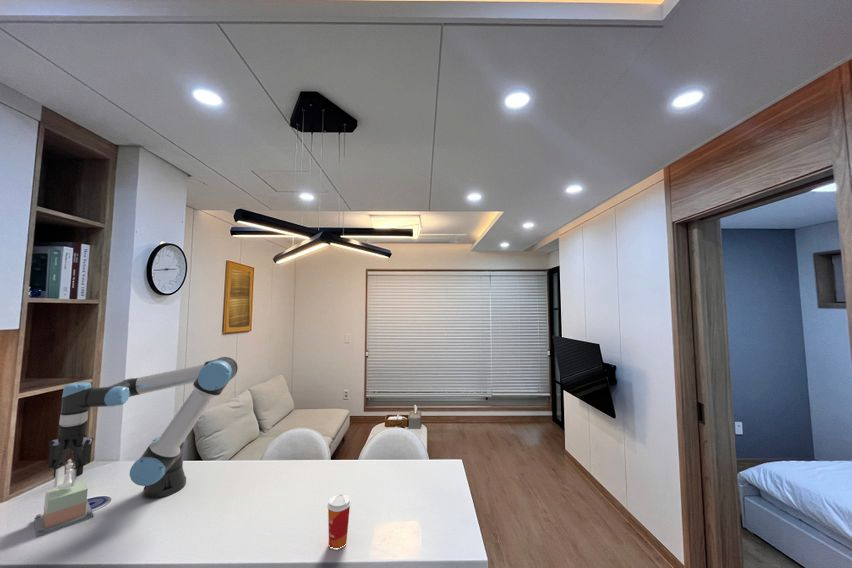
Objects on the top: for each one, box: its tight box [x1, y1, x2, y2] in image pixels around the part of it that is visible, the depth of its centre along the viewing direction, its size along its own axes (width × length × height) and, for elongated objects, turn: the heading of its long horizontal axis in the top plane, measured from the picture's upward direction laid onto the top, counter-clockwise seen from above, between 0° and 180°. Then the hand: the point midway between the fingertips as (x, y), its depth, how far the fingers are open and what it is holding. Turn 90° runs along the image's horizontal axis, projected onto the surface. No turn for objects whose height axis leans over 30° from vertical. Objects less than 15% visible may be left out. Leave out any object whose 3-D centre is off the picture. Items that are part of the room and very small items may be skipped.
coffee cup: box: [326, 494, 352, 548], centre depth 113 cm, size 8×8×15 cm
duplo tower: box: [33, 479, 94, 538], centre depth 123 cm, size 14×14×11 cm
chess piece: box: [57, 458, 74, 489], centre depth 124 cm, size 5×5×10 cm
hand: (67, 484), depth 124 cm, fingers closed on chess piece, 5 cm apart
